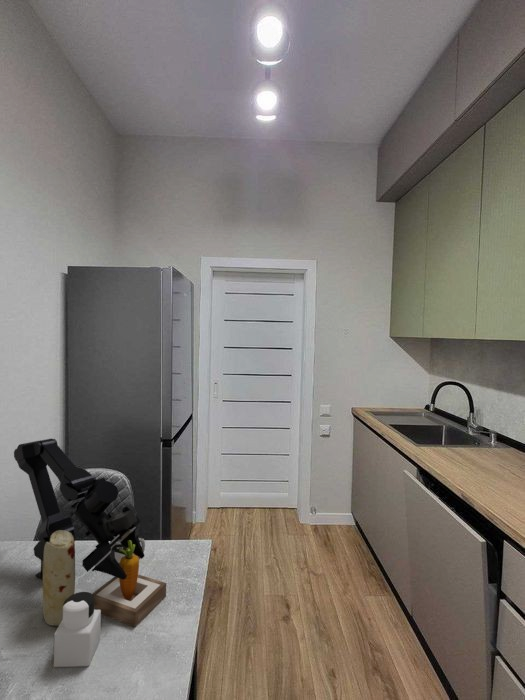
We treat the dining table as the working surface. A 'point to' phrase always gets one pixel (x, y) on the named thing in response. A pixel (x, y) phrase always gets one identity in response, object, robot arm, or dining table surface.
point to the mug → (118, 546)
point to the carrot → (129, 571)
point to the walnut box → (125, 612)
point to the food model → (58, 575)
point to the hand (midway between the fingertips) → (134, 567)
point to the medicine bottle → (77, 632)
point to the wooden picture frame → (142, 589)
